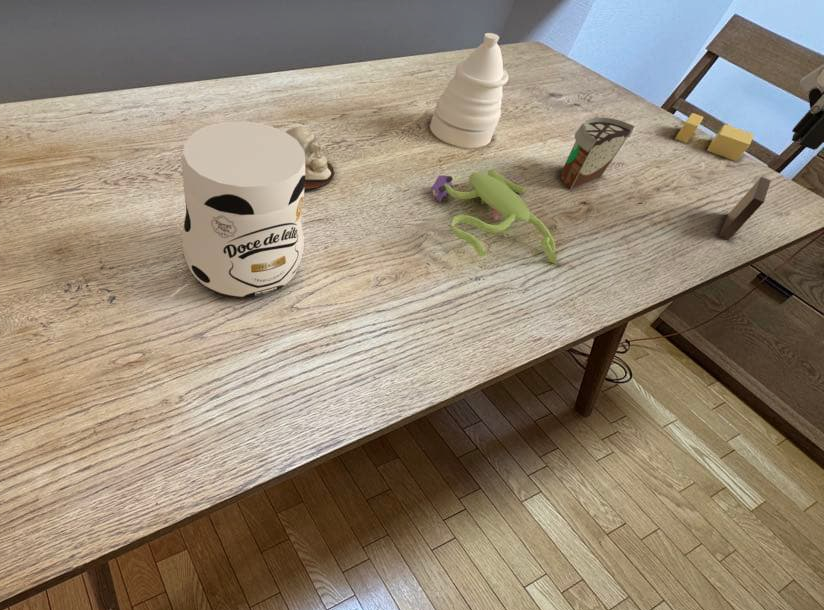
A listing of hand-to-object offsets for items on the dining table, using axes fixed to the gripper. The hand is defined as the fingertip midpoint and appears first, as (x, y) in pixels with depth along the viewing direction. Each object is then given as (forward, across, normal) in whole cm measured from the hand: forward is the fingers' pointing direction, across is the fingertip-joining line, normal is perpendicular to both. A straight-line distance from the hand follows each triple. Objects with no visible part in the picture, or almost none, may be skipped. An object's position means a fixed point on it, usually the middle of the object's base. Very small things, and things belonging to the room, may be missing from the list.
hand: (805, 140), depth 81 cm
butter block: (+16, +6, -31) cm, 36 cm away
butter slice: (+16, +14, -31) cm, 38 cm away
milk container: (+17, +58, +68) cm, 91 cm away
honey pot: (+17, +52, +5) cm, 55 cm away
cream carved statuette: (+17, +67, +41) cm, 80 cm away
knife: (-1, 0, -4) cm, 4 cm away
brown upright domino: (+16, 0, 0) cm, 16 cm away
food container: (+17, +28, +4) cm, 33 cm away
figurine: (+17, +34, +31) cm, 49 cm away
